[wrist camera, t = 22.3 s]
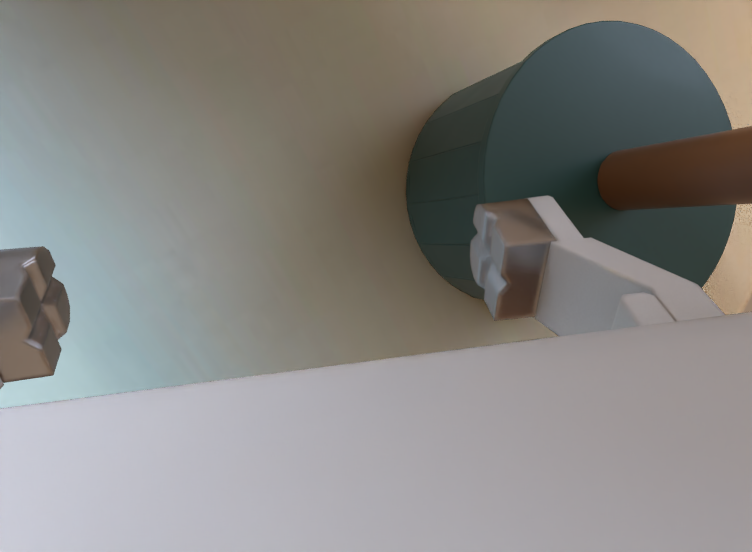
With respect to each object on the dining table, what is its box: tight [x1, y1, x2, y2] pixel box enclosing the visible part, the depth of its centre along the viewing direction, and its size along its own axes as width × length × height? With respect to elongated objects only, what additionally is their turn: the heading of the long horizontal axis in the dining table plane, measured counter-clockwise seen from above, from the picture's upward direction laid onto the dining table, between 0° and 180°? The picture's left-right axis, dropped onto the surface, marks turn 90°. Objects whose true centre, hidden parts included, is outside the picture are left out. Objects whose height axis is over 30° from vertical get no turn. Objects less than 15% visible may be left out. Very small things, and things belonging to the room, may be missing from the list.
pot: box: [406, 61, 522, 299], centre depth 35 cm, size 14×14×10 cm
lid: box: [478, 21, 752, 288], centre depth 26 cm, size 15×15×10 cm
